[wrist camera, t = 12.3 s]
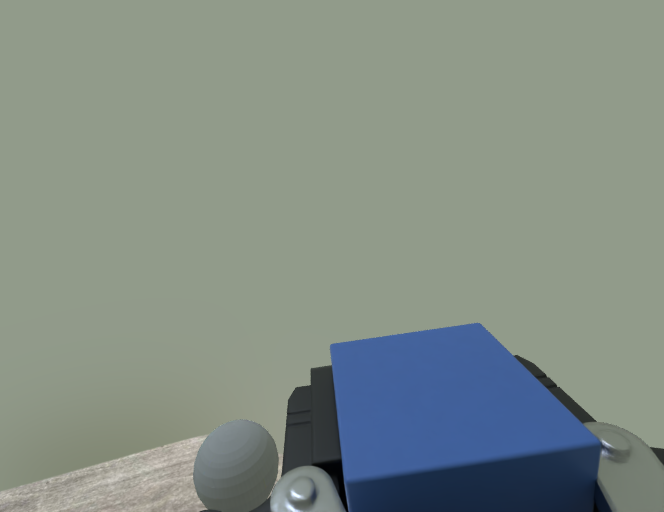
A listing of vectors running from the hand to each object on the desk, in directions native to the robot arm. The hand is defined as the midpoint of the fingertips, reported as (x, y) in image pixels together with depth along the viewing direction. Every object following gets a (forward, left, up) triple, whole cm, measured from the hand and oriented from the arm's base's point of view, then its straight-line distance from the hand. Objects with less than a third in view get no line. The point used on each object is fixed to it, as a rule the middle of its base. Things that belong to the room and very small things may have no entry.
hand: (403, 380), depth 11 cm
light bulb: (+6, +12, -20) cm, 24 cm away
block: (-3, -1, -7) cm, 8 cm away
